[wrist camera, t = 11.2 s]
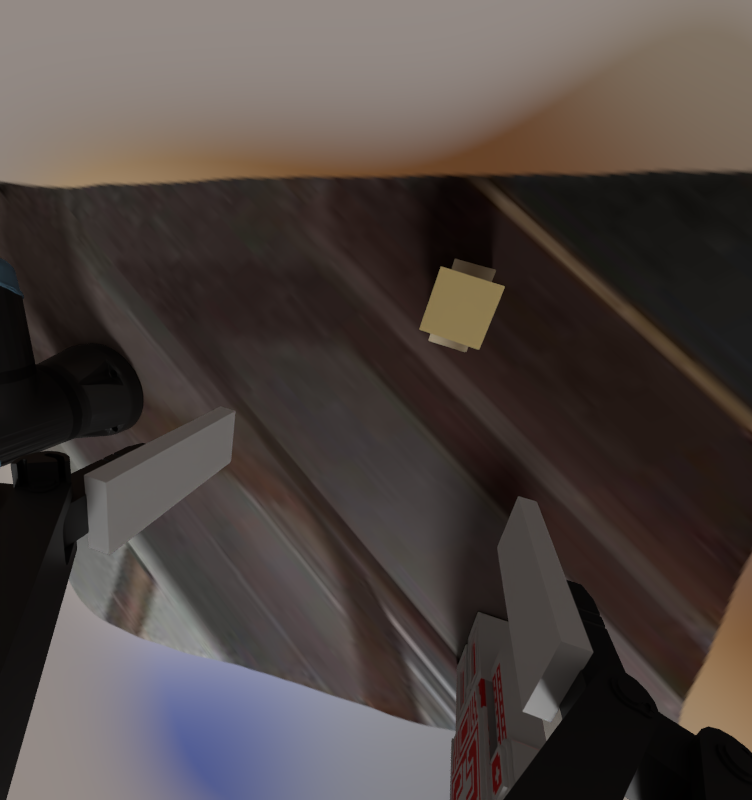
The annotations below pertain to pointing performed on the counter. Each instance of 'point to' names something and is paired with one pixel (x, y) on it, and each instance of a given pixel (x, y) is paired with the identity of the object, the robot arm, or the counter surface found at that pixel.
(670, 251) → the counter surface
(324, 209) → the counter surface
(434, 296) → the ochre cube
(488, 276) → the birch plinth
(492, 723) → the toy
